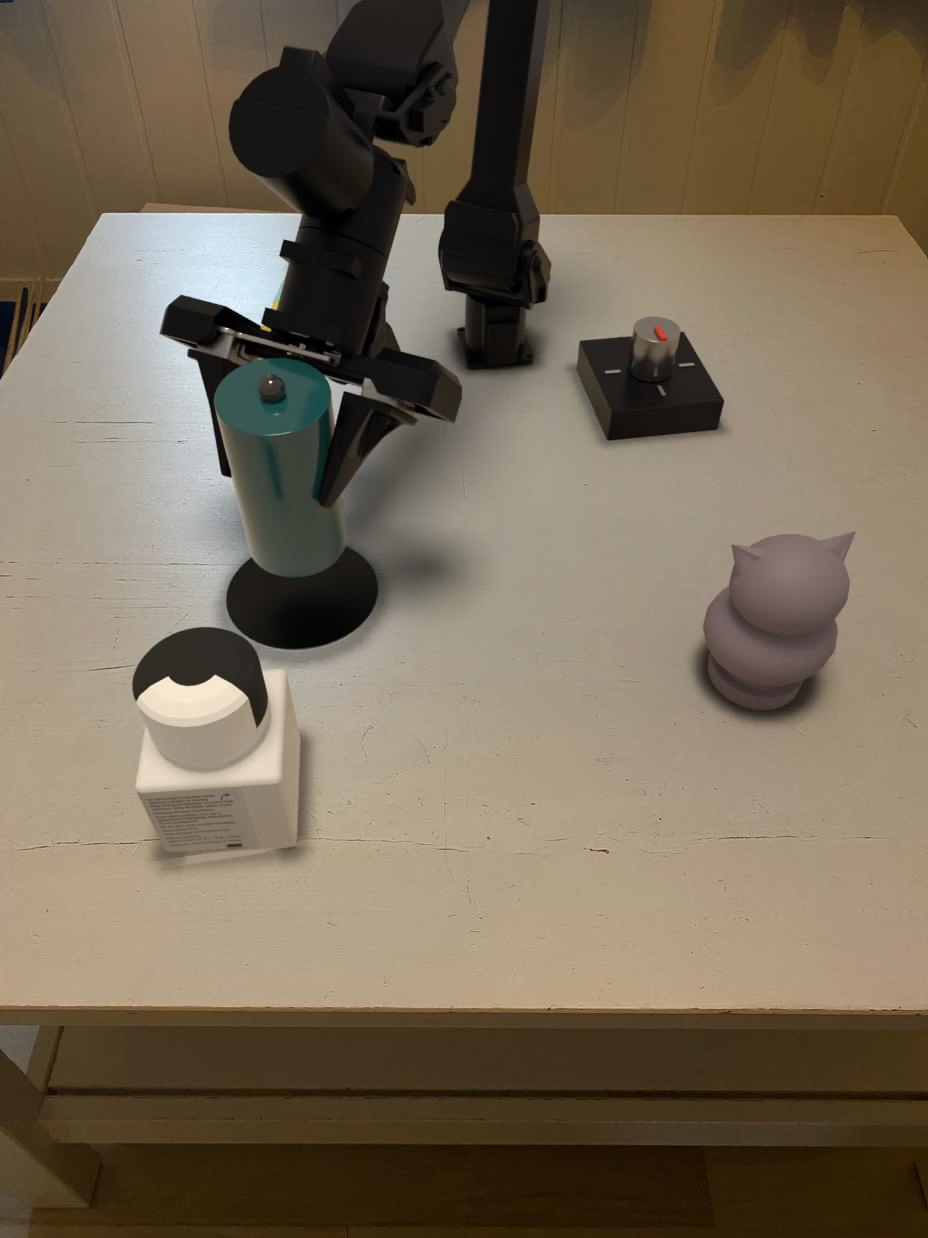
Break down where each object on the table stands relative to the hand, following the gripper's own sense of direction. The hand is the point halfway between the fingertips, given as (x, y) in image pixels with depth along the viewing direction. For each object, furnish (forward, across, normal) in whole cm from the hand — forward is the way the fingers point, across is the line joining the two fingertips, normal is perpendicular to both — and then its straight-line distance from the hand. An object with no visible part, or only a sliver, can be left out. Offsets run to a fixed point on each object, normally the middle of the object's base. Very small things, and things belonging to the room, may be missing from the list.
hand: (275, 491), depth 60 cm
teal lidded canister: (+3, 0, -6) cm, 6 cm away
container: (+19, -4, +2) cm, 19 cm away
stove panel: (-17, -16, -33) cm, 40 cm away
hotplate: (+7, 0, -9) cm, 11 cm away
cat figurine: (+3, -31, -14) cm, 34 cm away
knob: (-19, -15, -31) cm, 40 cm away
